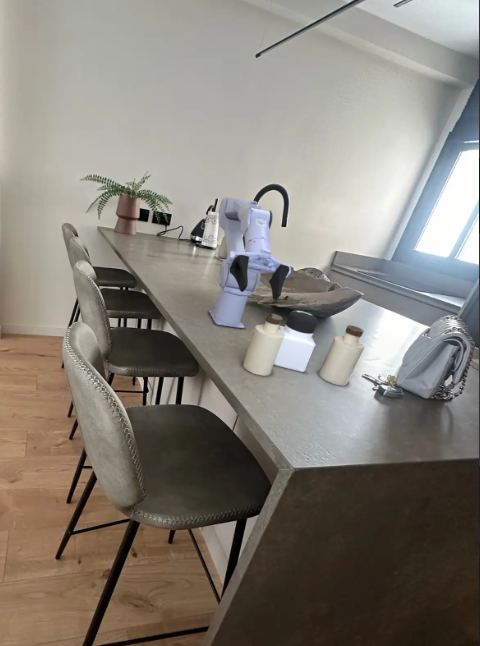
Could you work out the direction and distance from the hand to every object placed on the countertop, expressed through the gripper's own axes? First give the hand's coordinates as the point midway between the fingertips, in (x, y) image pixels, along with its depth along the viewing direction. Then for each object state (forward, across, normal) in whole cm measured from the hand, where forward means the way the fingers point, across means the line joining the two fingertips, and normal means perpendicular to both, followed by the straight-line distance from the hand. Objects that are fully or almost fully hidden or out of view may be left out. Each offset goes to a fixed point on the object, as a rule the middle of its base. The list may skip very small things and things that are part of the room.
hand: (260, 293), depth 79 cm
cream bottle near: (+13, +3, +9) cm, 16 cm away
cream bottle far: (+12, +21, +8) cm, 25 cm away
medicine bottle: (+8, +12, +11) cm, 18 cm away
